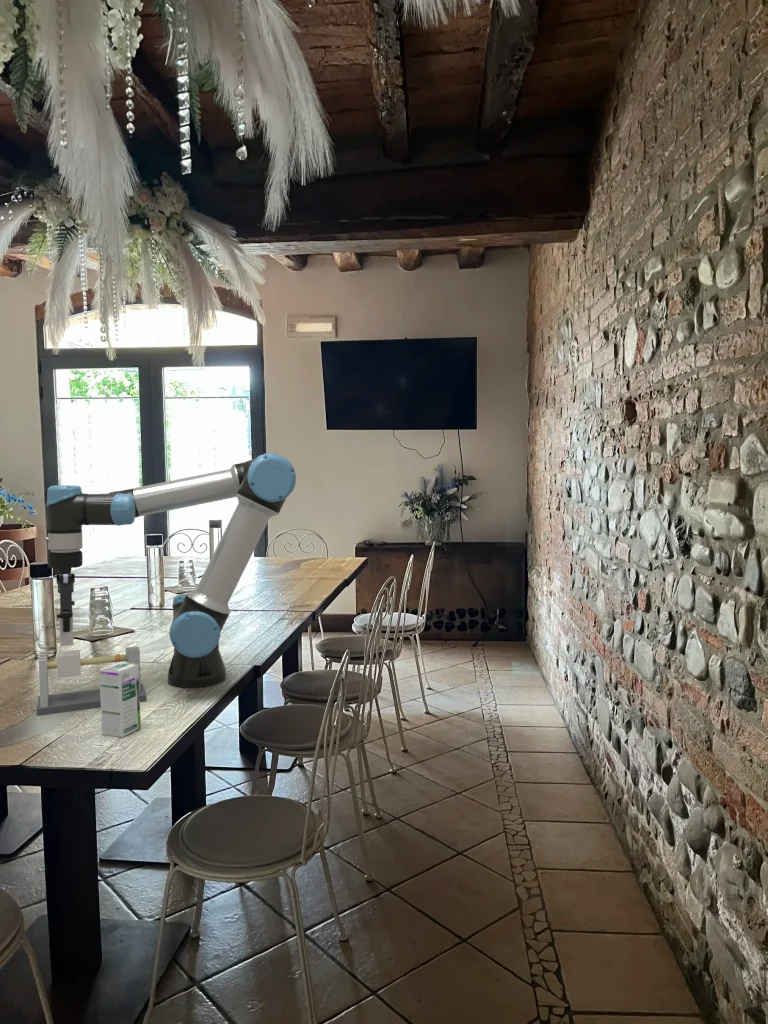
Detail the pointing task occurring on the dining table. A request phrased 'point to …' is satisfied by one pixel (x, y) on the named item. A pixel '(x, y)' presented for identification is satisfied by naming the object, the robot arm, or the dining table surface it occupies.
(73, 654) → the sleeve
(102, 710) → the syrup box
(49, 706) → the cable comb board
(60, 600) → the robot arm
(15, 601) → the dining table surface
